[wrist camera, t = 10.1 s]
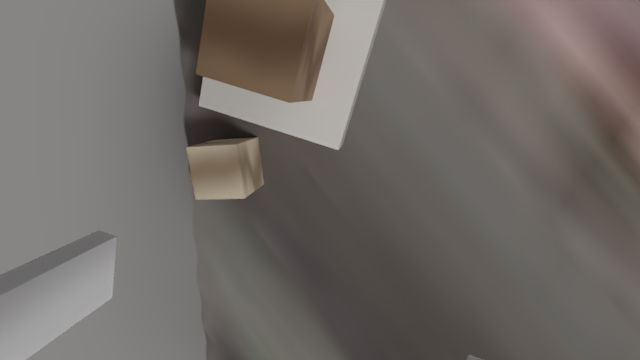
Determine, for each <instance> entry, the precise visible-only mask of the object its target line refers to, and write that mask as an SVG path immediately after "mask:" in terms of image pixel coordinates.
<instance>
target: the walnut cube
mask: <svg viewBox="0 0 640 360" xmlns="http://www.w3.org/2000/svg"><path fill="white" fill-rule="evenodd" d="M333 19H334V14H333V12H332V11H331V9H330V8H329V6H328V5H327V3H326V2H325V0H206V6H205V13H204V20H203V27H202V34H201V41H200V47H199V54H198V61H197V68H196V75H200V76H203V77H206V78H210V79H213V80H216V81H219V82H223V83H226V84H229V85H232V86H236V87H239V88H242V89H246V90H249V91H252V92H255V93H259V94H262V95H265V96H269V97H272V98H275V99H278V100H282V101H285V102H288V103H293V102H303V101H312V99H313V96H314V92H315V88H316V84H317V80H318V76H319V73H320V69H321V65H322V61H323V57H324V53H325V50H326V46H327V42H328V38H329V34H330V30H331V27H332V23H333Z"/></svg>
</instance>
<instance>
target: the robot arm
mask: <svg viewBox="0 0 640 360" xmlns="http://www.w3.org/2000/svg"><path fill="white" fill-rule="evenodd" d="M116 238H117V237H116V236H114V235H111V234H108V233H105V232H102V231H97V232H94V233H92V234H90V235H88V236H85V237H83V238H81V239H79V240H77V241H74V242H72V243H70V244H68V245H66V246H63V247H61V248H59V249H57V250H55V251H52V252H50V253H48V254H46V255H44V256H41V257H39V258H37V259H35V260H32V261H30V262H28V263H26V264H24V265H21V266H19V267H17V268H15V269H12V270H10V271H8V272H6V273H4V274H1V275H0V360H27V359H28V358H29V357H31V356H32V355H34V354H35V353H36V352H37V351H39V350H40V349H42V348H43V347H45V346H46V345H47V344H49V343H50V342H51V341H53V340H54V339H56V338H57V337H58V336H60V335H61V334H63V333H64V332H65V331H67V330H68V329H69V328H71V327H72V326H74V325H75V324H76V323H78V322H79V321H80V320H82V319H83V318H85V317H86V316H87V315H89V314H90V313H91V312H93V311H94V310H96V309H97V308H98V307H100V306H101V305H103V304H104V303H105V302H107V301H108V300H109V299H111V298H112V294H113V279H114V265H115V252H116ZM466 360H483V359H480V358H477V357H474V356H471V355H468V356H467V359H466Z"/></svg>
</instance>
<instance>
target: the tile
mask: <svg viewBox="0 0 640 360" xmlns="http://www.w3.org/2000/svg"><path fill="white" fill-rule="evenodd" d="M325 2H326V3H327V5H328V6H329V8H330V9H331V11H332V12H333V14H334V19H333V23H332V27H331V30H330V34H329V38H328V42H327V46H326V50H325V53H324V57H323V61H322V65H321V69H320V73H319V76H318V80H317V84H316V88H315V92H314V96H313V99H312V101H303V102H293V103H288V102H285V101H282V100H278V99H275V98H272V97H269V96H265V95H262V94H259V93H255V92H252V91H249V90H246V89H242V88H239V87H236V86H232V85H229V84H226V83H223V82H219V81H216V80H213V79H210V78H206V77H203V81H202V87H201V94H200V100H199V106H201V107H204V108H207V109H211V110H214V111H217V112H220V113H223V114H226V115H229V116H233V117H236V118H239V119H242V120H245V121H248V122H251V123H255V124H258V125H261V126H264V127H267V128H270V129H274V130H277V131H280V132H283V133H286V134H289V135H292V136H296V137H299V138H302V139H305V140H308V141H311V142H314V143H318V144H321V145H324V146H327V147H330V148H333V149H337V150H339V149H340V148H341V147H342V145H343V142H344V138H345V135H346V132H347V128H348V125H349V122H350V118H351V115H352V112H353V109H354V105H355V102H356V99H357V95H358V92H359V89H360V86H361V82H362V79H363V76H364V72H365V69H366V66H367V63H368V59H369V56H370V53H371V49H372V46H373V43H374V40H375V36H376V33H377V30H378V26H379V23H380V20H381V17H382V13H383V10H384V7H385V3H386V0H325Z"/></svg>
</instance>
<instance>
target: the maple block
mask: <svg viewBox="0 0 640 360" xmlns="http://www.w3.org/2000/svg"><path fill="white" fill-rule="evenodd" d="M186 149H187V155H188V160H189V166H190V171H191V177H192V182H193V187H194V193H195V198H196V199H245V198H246V197H247V196H249V195H250V194H251V193H253V192H254V191H256V190H257V189H258V188H260V187H261V186H262V185H264V180H263V172H262V164H261V156H260V149H259V141H258V137H253V138H236V139H220V140H211V141H208V142H204V143H200V144H197V145H193V146H189V147H186Z"/></svg>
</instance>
